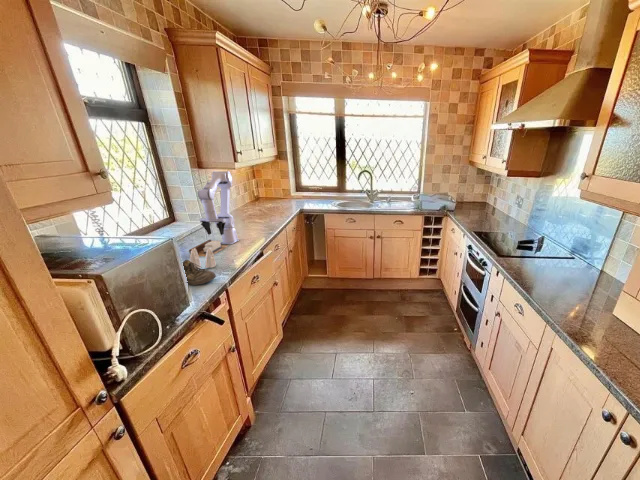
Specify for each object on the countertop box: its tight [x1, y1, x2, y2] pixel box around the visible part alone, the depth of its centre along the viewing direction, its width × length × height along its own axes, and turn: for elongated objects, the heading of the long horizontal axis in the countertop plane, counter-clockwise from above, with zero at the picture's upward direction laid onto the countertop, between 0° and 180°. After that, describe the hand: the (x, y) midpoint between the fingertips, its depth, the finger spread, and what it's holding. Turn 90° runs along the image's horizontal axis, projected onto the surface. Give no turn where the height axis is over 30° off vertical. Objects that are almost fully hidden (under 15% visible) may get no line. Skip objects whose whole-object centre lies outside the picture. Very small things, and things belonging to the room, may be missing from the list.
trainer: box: [203, 240, 222, 253], centre depth 182 cm, size 11×5×5 cm, turn 176°
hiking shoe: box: [181, 259, 217, 286], centre depth 142 cm, size 9×21×12 cm
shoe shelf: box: [188, 239, 230, 257], centre depth 183 cm, size 20×12×4 cm, turn 176°
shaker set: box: [189, 247, 217, 269], centre depth 155 cm, size 12×4×11 cm, turn 125°
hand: (216, 234), depth 181 cm, fingers open, 7 cm apart
